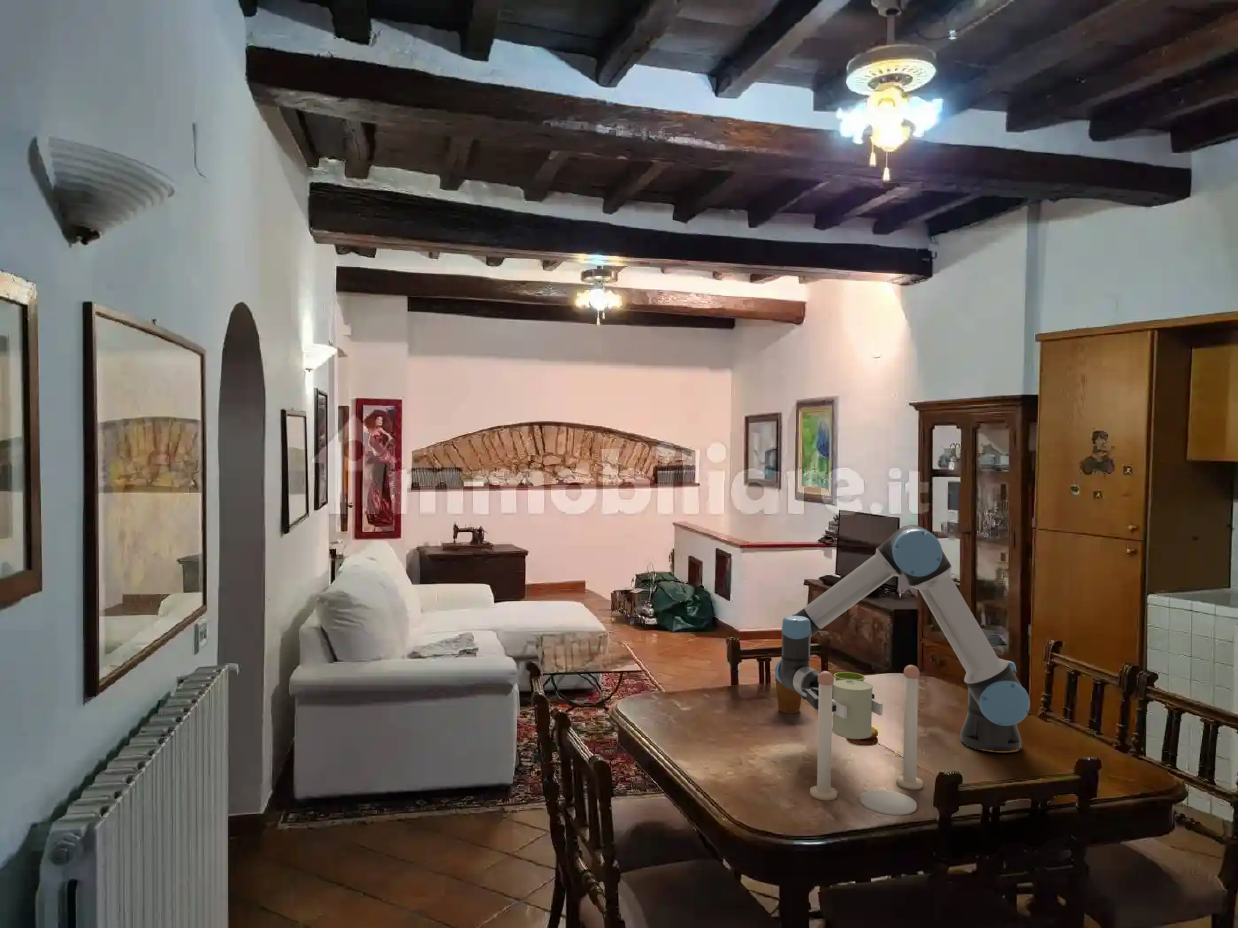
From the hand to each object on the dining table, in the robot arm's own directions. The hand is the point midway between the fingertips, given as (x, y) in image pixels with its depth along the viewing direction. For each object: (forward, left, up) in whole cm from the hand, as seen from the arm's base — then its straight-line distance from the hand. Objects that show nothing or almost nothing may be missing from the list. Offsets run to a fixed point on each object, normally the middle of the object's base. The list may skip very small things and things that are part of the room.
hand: (863, 710), depth 198 cm
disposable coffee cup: (+23, -55, -18) cm, 62 cm away
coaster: (-6, +8, -18) cm, 20 cm away
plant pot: (+6, -69, -18) cm, 71 cm away
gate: (-1, +1, -18) cm, 18 cm away
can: (+3, -4, -7) cm, 8 cm away
